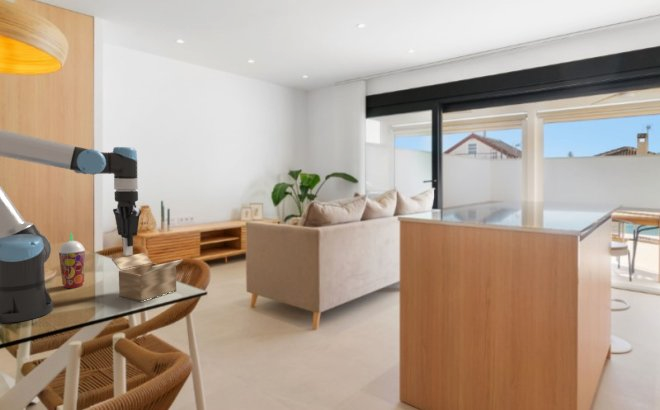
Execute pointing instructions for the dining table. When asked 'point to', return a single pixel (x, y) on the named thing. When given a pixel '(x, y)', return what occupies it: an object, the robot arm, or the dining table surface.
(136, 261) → the far flap
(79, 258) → the smoothie
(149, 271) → the near flap
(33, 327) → the dining table surface
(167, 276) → the carton
